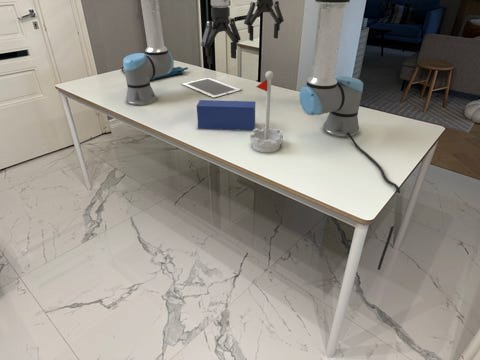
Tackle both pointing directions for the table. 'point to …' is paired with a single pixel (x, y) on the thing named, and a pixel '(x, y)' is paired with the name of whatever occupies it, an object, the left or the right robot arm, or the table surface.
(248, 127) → the box
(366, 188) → the table surface
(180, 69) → the submachine gun
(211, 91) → the tablet
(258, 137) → the flag stand
